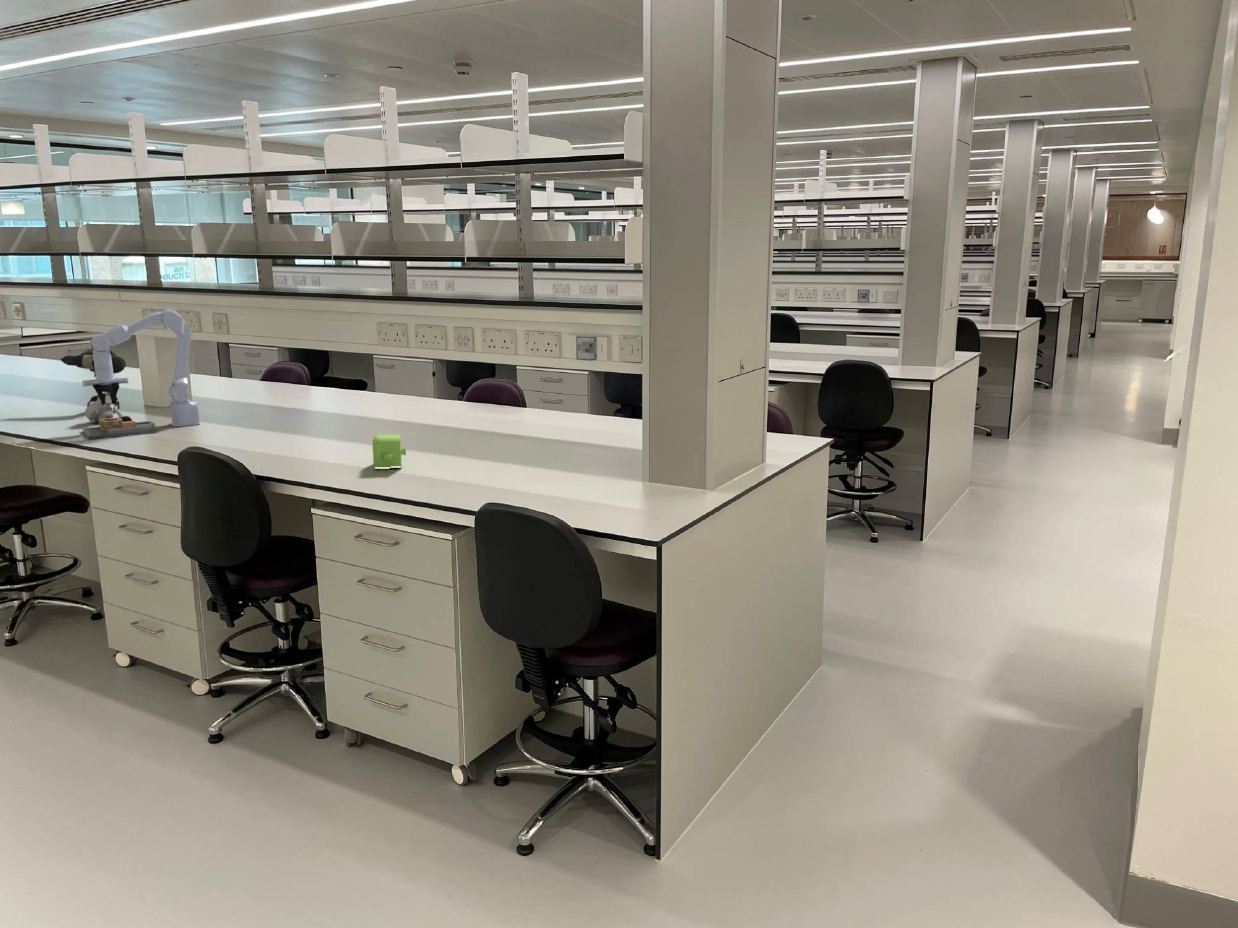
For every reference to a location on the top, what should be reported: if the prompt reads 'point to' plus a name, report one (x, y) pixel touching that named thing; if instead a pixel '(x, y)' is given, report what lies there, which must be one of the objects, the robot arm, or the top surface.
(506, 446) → the top surface
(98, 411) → the mechanical valve
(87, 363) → the power drill
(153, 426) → the slate board
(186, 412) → the robot arm
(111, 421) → the frame
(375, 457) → the gearbox
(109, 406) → the cylinder
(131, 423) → the orange rectangular block
